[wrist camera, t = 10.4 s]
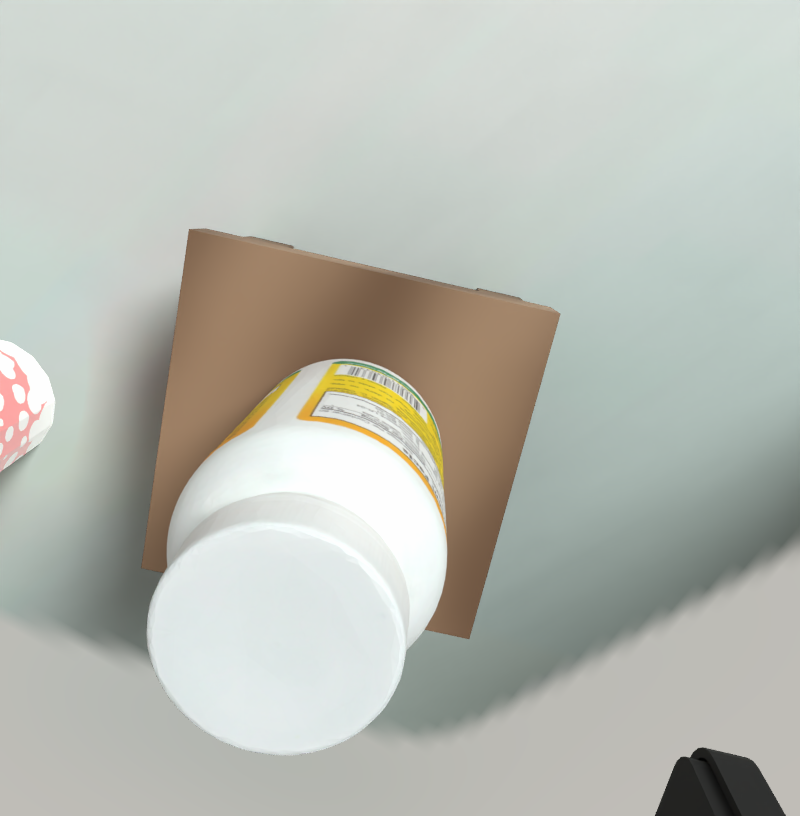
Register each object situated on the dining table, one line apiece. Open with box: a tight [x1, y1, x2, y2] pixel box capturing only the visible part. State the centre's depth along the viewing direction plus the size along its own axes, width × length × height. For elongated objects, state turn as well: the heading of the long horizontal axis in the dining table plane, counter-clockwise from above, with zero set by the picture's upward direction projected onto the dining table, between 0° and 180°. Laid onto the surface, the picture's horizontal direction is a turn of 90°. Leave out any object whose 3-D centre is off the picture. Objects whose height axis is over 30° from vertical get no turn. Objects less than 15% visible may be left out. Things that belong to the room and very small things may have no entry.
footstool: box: [141, 229, 560, 639], centre depth 23 cm, size 10×10×6 cm
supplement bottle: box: [147, 359, 447, 756], centre depth 15 cm, size 5×5×10 cm
